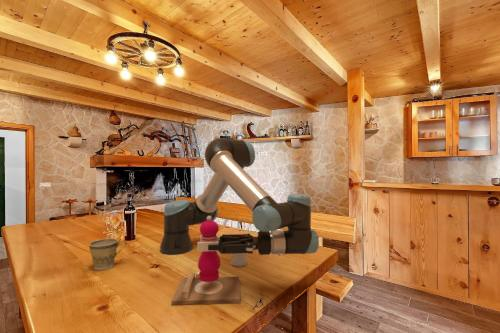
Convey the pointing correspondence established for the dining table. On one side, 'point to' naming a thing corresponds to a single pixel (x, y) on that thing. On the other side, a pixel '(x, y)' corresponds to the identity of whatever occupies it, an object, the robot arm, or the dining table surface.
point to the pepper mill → (209, 252)
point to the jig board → (207, 291)
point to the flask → (239, 260)
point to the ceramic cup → (104, 252)
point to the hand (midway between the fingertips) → (199, 243)
